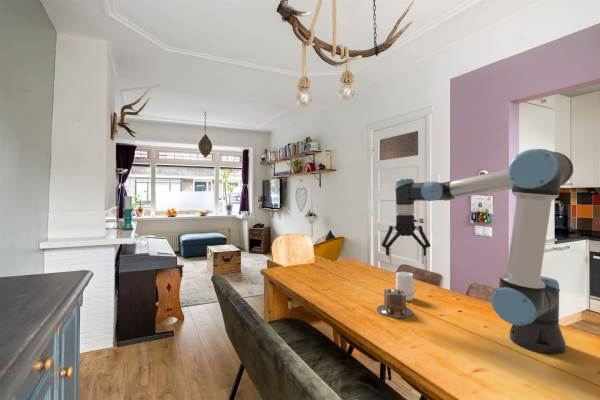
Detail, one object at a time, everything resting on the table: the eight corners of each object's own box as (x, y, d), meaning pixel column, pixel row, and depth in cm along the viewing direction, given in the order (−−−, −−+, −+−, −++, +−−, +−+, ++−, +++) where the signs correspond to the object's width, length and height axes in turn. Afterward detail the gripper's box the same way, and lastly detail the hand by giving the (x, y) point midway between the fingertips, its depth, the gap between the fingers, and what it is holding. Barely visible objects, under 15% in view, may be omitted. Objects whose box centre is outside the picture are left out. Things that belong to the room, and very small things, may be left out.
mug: (421, 301, 147) (421, 276, 147) (406, 303, 144) (406, 278, 144) (406, 294, 158) (406, 271, 158) (391, 295, 156) (391, 272, 155)
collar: (384, 306, 140) (384, 289, 139) (402, 307, 138) (402, 289, 138) (387, 316, 128) (387, 297, 128) (407, 317, 127) (407, 298, 126)
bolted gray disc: (375, 304, 144) (375, 284, 143) (408, 305, 141) (408, 285, 141) (378, 316, 129) (378, 294, 129) (416, 318, 127) (416, 296, 126)
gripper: (432, 213, 136) (433, 261, 136) (374, 214, 139) (375, 261, 139) (437, 214, 129) (438, 265, 129) (376, 215, 132) (377, 264, 132)
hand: (405, 263), depth 134 cm, fingers open, 13 cm apart
